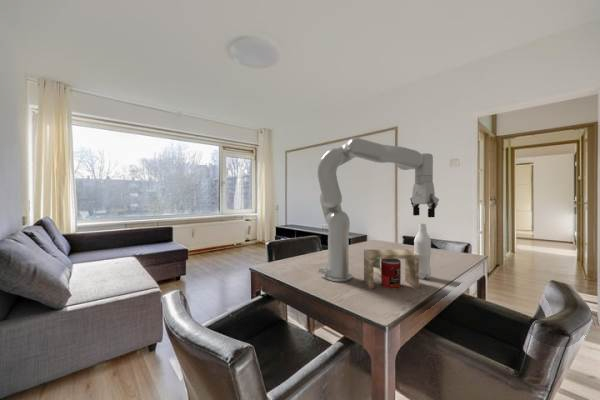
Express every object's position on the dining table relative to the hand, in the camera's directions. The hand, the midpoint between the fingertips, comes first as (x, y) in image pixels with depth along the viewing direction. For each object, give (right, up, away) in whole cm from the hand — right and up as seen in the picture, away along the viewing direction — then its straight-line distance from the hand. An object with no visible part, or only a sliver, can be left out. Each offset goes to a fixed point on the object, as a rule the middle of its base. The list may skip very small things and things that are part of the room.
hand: (423, 216), depth 117 cm
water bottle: (-2, -29, -2) cm, 29 cm away
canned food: (-20, -29, -11) cm, 37 cm away
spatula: (-19, -28, +5) cm, 35 cm away
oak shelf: (-20, -29, -10) cm, 36 cm away
